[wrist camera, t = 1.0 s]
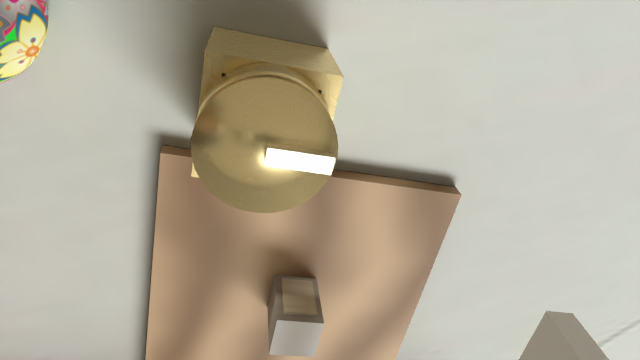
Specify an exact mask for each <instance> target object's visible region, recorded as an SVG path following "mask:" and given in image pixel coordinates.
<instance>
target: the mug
mask: <svg viewBox="0 0 640 360" xmlns="http://www.w3.org/2000/svg"><path fill="white" fill-rule="evenodd" d="M47 27H48V6H47V0H0V83H2V82H5V81H7V80H10V79H12V78H14V77H15V76H17V75H19V74H20V73H22V72H23V71H24V70H25V69H26V68H27V67H28V66H29V65H30V64H31V63H32V62H33V61H34V60H35V58H36V57H37V55H38V54H39V52H40V50H41V48H42V45H43V43H44V40H45V37H46V33H47Z"/></svg>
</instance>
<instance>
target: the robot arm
mask: <svg viewBox="0 0 640 360" xmlns="http://www.w3.org/2000/svg"><path fill="white" fill-rule="evenodd" d="M519 360H609V359H608V358H607V356H606V355H605V354H604V353H603V351H602V350H601V349H600V348H599V346H598V345H597V344H596V343H595V341H594V340H593V339H592V337H591V336H590V335H589V334H588V332H587V331H586V330H585V329H584V327H583V326H582V325H581V324H580V322H579V321H578V320H577V318H576V317H575V316H574V315H573V313H562V312H551V311H546V313H545V314H544V316H543V318H542V320H541V321H540V323H539V325H538V327H537V329H536V330H535V332H534V334H533V336H532V337H531V339H530V341H529V343H528V344H527V346H526V348H525V350H524V351H523V353H522V355H521V357H520V359H519Z"/></svg>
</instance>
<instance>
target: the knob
mask: <svg viewBox="0 0 640 360" xmlns="http://www.w3.org/2000/svg"><path fill="white" fill-rule="evenodd" d="M224 73H225V74H224ZM342 80H343V75H342V73H341V71H340V69H339V68H338V66H337V64H336V62H335V60H334V58H333V57H332V55H331V53H330V51H329V49H326V48H321V47H316V46H311V45H306V44H300V43H295V42H290V41H285V40H280V39H275V38H270V37H264V36H259V35H254V34H249V33H244V32H239V31H234V30H228V29H223V28H218V27H213V30H212V33H211V35H210V38H209V41H208V43H207V46H206V49H205V53H204V63H203V72H202V81H201V91H200V100H199V109H198V115H197V119H196V122H195V125H194V129H193V133H192V138H191V155H192V161H193V165H192V174H191V177H198V178H200V180H201V181H202V183H203V184H204V185H205V186H206V188H207V189H208V190H209V191H210V192H211V193H212V194H213V195H214V196H216V197H217V198H218V199H220V200H221V201H223V202H224V203H226V204H228V205H230V206H232V207H235V208H237V209H240V210H244V211H248V212H254V213H275V212H281V211H285V210H288V209H291V208H294V207H296V206H299V205H301V204H302V203H304V202H306V201H308V200H309V199H310V198H312V197H313V196H314V195H315V194H317V193H318V192H319V191H320V190H321V189H322V187H323V186H324V185H325V184H326V182H327V181H328V179H329V178H330V176H331V174H332V172H333V170H334V167H335V164H336V160H337V154H338V140H337V134H336V130H335V127H334V124H333V117H334V113H335V108H336V104H337V100H338V96H339V92H340V88H341V84H342Z"/></svg>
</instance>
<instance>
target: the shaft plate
mask: <svg viewBox="0 0 640 360" xmlns="http://www.w3.org/2000/svg"><path fill="white" fill-rule="evenodd" d="M192 165H193V161H192V155H191V149H185V148H178V147H171V146H164V145H163V148H162V150H161V153H160V165H159V179H158V192H157V206H156V220H155V234H154V247H153V261H152V275H151V289H150V303H149V316H148V330H147V344H146V358H145V360H395V358H396V356H397V353H398V351H399V348H400V346H401V343H402V341H403V338H404V336H405V334H406V331H407V329H408V326H409V324H410V321H411V319H412V316H413V314H414V311H415V309H416V306H417V304H418V301H419V299H420V296H421V294H422V291H423V289H424V286H425V284H426V281H427V279H428V276H429V274H430V272H431V269H432V267H433V264H434V262H435V259H436V257H437V254H438V252H439V249H440V247H441V244H442V242H443V239H444V237H445V234H446V232H447V229H448V227H449V224H450V222H451V219H452V217H453V214H454V212H455V209H456V207H457V205H458V202H459V200H460V197H461V194H460V192H459V191H458V190H457V188H456V187H452V186H445V185H438V184H431V183H424V182H417V181H410V180H403V179H396V178H389V177H382V176H375V175H368V174H361V173H354V172H347V171H340V170H333V172H332V174H331V176H330V178H329V179H328V181H327V182H326V184H325V185H324V186H323V187H322V189H321V190H320V191H319V192H318V193H317V194H315V195H314V196H313V197H312V198H310V199H309V200H308V201H306V202H304V203H302V204H301V205H299V206H296V207H294V208H291V209H288V210H285V211H281V212H275V213H254V212H248V211H244V210H240V209H237V208H235V207H232V206H230V205H228V204H226V203H224V202H223V201H221V200H220V199H218V198H217V197H216V196H214V195H213V194H212V193H211V192H210V191H209V190H208V189H207V188H206V186H205V185H204V184H203V183H202V181H201V180H200V178H198V177H191V174H192Z"/></svg>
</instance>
